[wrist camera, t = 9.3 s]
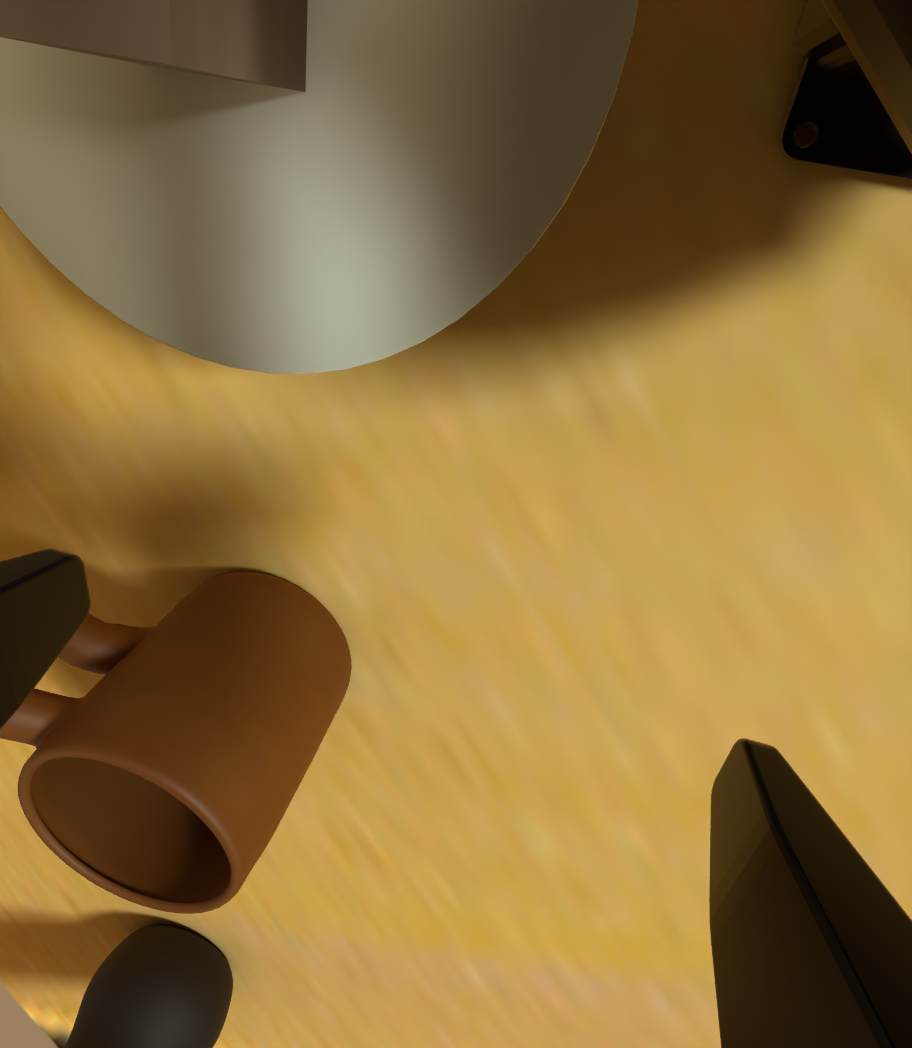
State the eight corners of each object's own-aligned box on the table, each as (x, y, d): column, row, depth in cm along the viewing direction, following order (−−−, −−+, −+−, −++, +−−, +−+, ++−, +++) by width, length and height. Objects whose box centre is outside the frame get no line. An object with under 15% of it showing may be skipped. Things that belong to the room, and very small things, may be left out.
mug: (77, 575, 28) (-142, 740, 20) (139, 454, 24) (-101, 600, 16) (302, 734, 30) (183, 945, 22) (393, 645, 26) (290, 862, 18)
